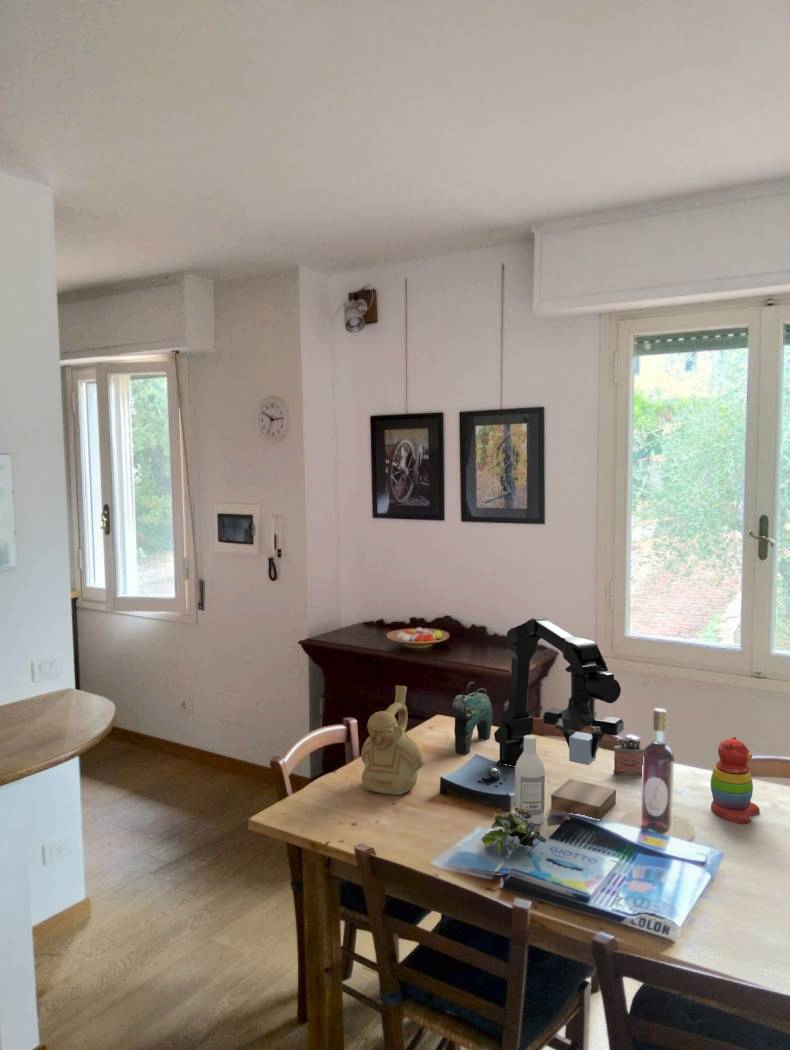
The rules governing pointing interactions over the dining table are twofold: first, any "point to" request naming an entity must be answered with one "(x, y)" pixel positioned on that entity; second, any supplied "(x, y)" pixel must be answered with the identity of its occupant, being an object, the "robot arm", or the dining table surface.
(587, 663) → the robot arm
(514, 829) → the green leafy plant
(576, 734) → the slate block
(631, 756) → the lighter
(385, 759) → the ceramic vessel
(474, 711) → the green elephant figurine
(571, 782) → the walnut slab
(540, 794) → the bath foam
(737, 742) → the stacking bear
